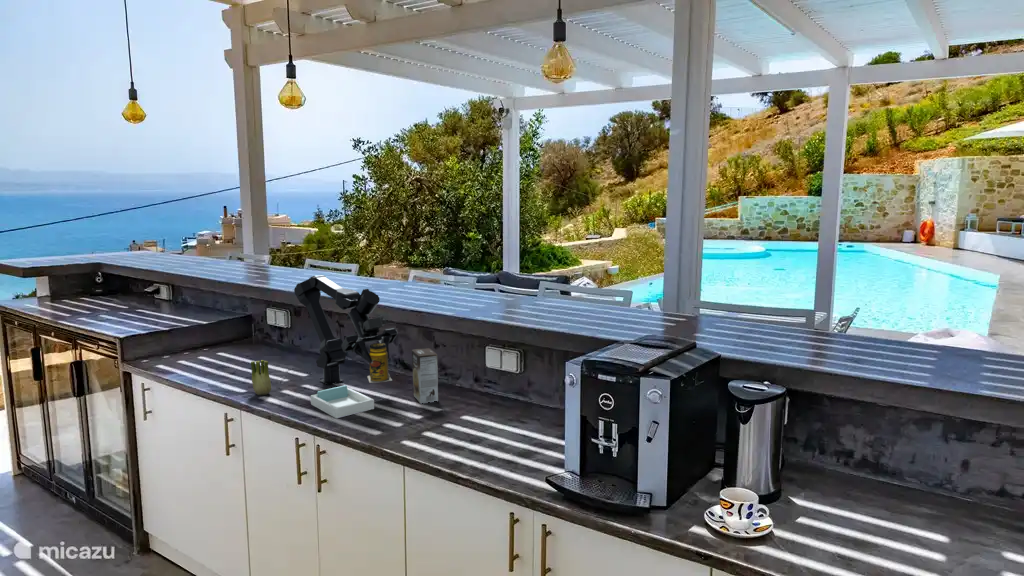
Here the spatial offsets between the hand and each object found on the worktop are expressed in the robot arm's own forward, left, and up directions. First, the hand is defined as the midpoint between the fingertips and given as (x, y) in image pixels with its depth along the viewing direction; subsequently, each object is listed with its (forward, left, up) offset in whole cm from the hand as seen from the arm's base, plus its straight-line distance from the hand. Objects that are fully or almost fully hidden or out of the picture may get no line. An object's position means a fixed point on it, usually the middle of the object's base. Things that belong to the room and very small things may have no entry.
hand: (379, 360), depth 213 cm
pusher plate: (-9, -13, -12) cm, 20 cm away
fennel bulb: (-33, -27, -13) cm, 45 cm away
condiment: (-2, +1, -7) cm, 7 cm away
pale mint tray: (-2, -13, -13) cm, 19 cm away
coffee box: (+10, +11, -13) cm, 20 cm away
